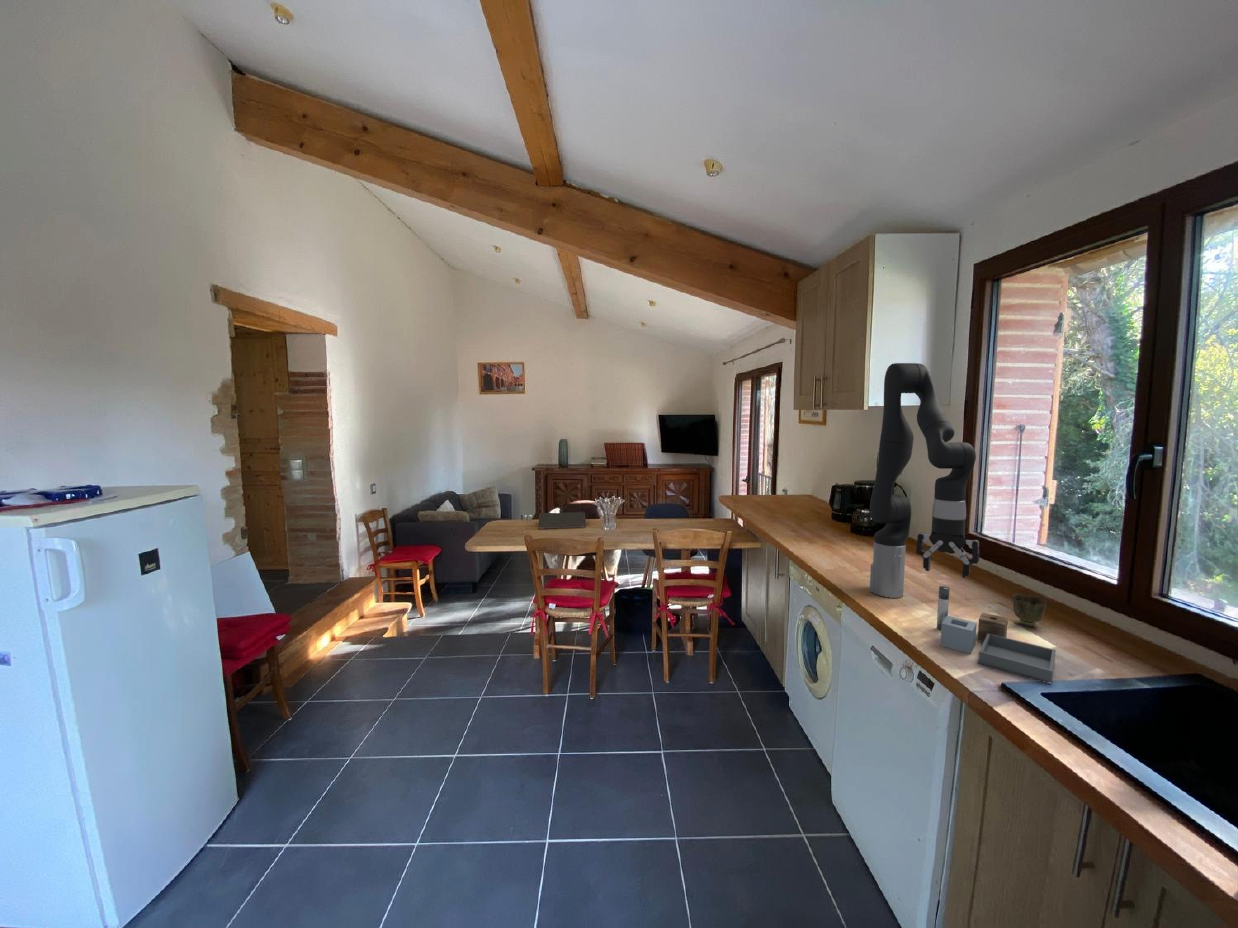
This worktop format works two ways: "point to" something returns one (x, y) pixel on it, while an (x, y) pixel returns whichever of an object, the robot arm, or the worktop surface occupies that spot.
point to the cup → (1029, 609)
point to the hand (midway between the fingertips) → (945, 573)
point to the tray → (1018, 657)
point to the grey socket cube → (958, 634)
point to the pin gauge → (942, 605)
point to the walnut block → (991, 626)
